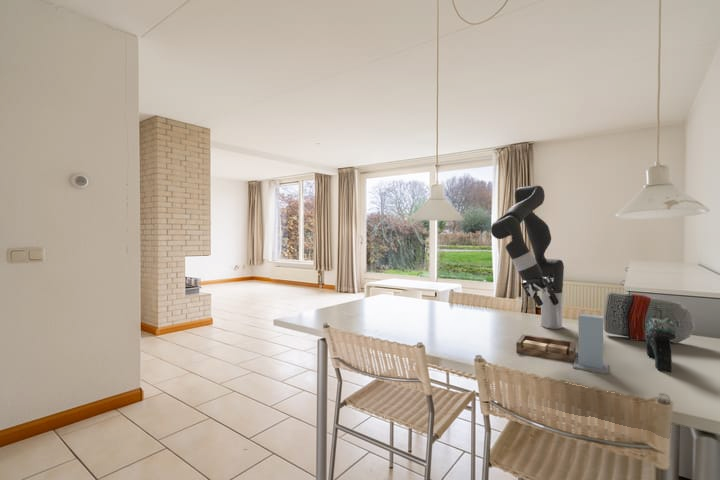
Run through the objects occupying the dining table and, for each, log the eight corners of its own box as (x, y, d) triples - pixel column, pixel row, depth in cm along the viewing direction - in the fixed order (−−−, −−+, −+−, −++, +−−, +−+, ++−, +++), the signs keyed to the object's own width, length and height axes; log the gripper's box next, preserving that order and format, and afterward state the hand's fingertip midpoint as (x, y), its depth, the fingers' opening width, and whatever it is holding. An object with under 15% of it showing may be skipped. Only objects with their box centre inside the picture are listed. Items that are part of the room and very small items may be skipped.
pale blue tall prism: (578, 364, 123) (578, 315, 123) (578, 361, 126) (579, 313, 126) (602, 368, 119) (603, 318, 119) (602, 365, 122) (602, 316, 122)
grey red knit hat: (608, 292, 155) (699, 304, 141) (606, 289, 161) (693, 301, 147) (603, 335, 156) (692, 351, 142) (601, 331, 162) (687, 346, 148)
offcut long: (522, 352, 138) (522, 342, 138) (525, 349, 141) (525, 339, 141) (545, 357, 133) (545, 346, 133) (547, 354, 136) (547, 343, 136)
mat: (574, 359, 129) (574, 357, 129) (608, 364, 124) (608, 363, 124) (573, 368, 121) (573, 366, 121) (608, 374, 116) (608, 372, 116)
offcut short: (547, 356, 133) (547, 346, 133) (550, 353, 136) (550, 343, 136) (566, 360, 129) (566, 349, 129) (568, 357, 132) (568, 346, 132)
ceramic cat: (676, 375, 115) (677, 313, 115) (651, 371, 118) (652, 311, 118) (661, 356, 132) (661, 302, 132) (639, 353, 135) (640, 301, 135)
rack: (516, 352, 137) (516, 342, 137) (522, 343, 148) (522, 334, 148) (573, 362, 127) (573, 351, 127) (575, 352, 137) (575, 341, 137)
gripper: (546, 258, 128) (569, 299, 126) (522, 264, 142) (542, 301, 140) (531, 267, 126) (554, 308, 124) (508, 272, 140) (528, 310, 138)
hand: (548, 304), depth 132 cm, fingers open, 8 cm apart
